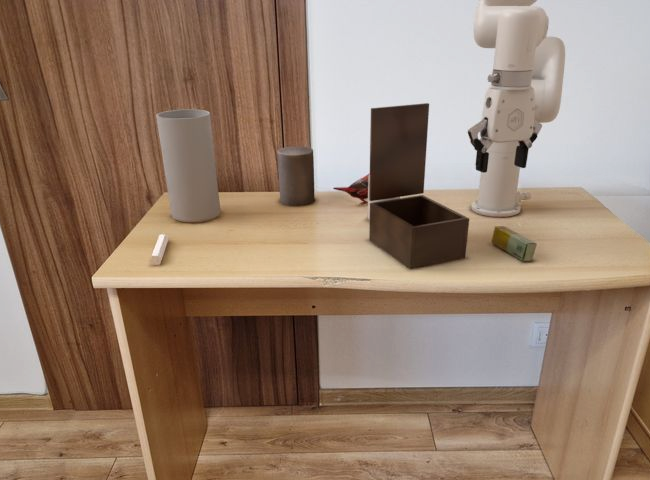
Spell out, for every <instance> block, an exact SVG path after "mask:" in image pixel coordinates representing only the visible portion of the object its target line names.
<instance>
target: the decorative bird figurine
mask: <svg viewBox="0 0 650 480" xmlns="http://www.w3.org/2000/svg"><path fill="white" fill-rule="evenodd" d="M369 174H370V172H369V173H368V174H366V175H365V176H363V177H361V178H359V179H357V180H356V181H354V182H353V183H351V184H350V185H349V186H346V187H345V186H344V187H343V186H340V187H339V186H338V187H333V188H332V189H333V190H335V191H340V192H345V193H347V194H348V195H349V196H351V197H352V198H356V199H358V200H360V201H361V202H360V203H359V206H360V205H362V206H363V205H368V180H369Z"/></svg>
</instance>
